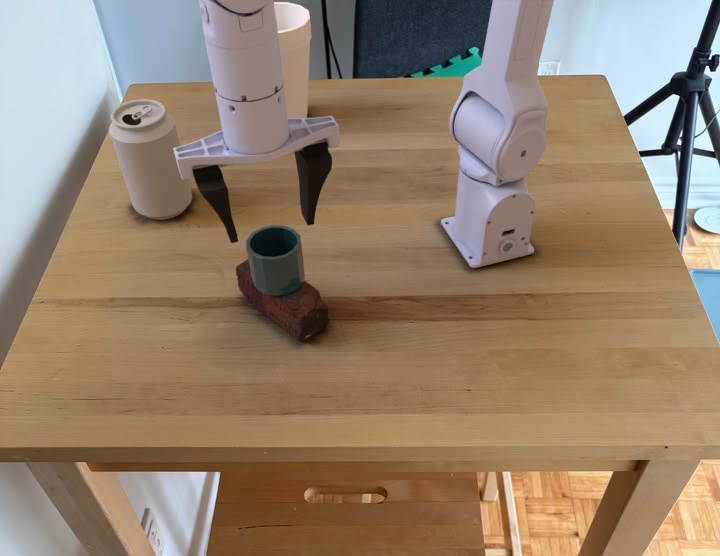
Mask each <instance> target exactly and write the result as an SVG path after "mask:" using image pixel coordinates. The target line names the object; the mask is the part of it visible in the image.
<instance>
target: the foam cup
mask: <svg viewBox="0 0 720 556" xmlns="http://www.w3.org/2000/svg"><path fill="white" fill-rule="evenodd" d="M274 8H275V17H276V22H277V31H278V40H279V49H280V57H281V66H282V75H283V83H284V92H285V100H286V109H287V118H308V109H309V107H308V106H309V83H310V82H309V79H310V78H309V77H310V54H311V40H312V38H313V36H312V26H311V16H310V11H309V9H307V8H305V7H304V6H302V5H301V4H297V3H292V2H288V1H274Z"/></svg>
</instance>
